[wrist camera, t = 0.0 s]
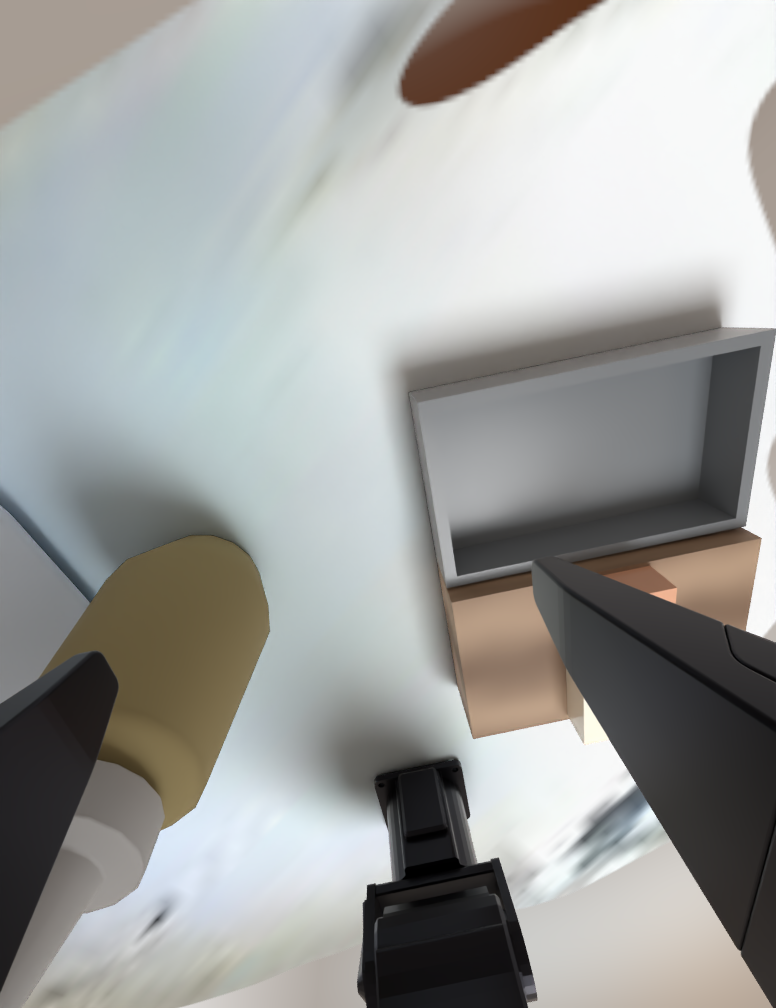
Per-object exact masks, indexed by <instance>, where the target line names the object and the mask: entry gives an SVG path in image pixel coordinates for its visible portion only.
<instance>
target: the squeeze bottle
mask: <svg viewBox="0 0 776 1008" xmlns="http://www.w3.org/2000/svg"><path fill="white" fill-rule="evenodd" d="M269 632H270V627H269V610H268V603H267V599H266V596H265V592H264V588H263V585H262V581H261V577H260V574H259V571H258V570H257V568H256V566H255V564H254V562H253V561H252V559H251V557H250V556H249V555H248V554H247V553H246V552H244V551H243V550H242V549H241V548H239V547H238V546H237V545H236V544H234V543H233V542H230V541H227V540H224V539H221V538H219V537H216V536H213V535H190V536H187V537H185V538H182V539H179V540H176V541H173V542H171V543H168V544H166V545H163V546H160V547H158V548H155V549H153V550H150V551H147V552H145V553H142V554H140V555H137V556H134V557H132V558H129V559H127V560H126V561H125V562H124V563H123V564H122V565H121V566H120V567H119V568H118V569H117V570H116V571H115V572H114V573H113V574H112V575H111V576H110V577H109V578H108V579H107V580H106V581H105V582H104V584H103V585H102V587H101V588H100V590H99V591H98V593H97V594H96V595H95V597H94V598H93V600H92V601H91V603H90V604H89V606H88V607H87V609H86V610H85V611H84V613H83V614H82V616H81V617H80V619H79V620H78V622H77V623H76V625H75V626H74V627H73V629H72V630H71V632H70V633H69V635H68V636H67V638H66V639H65V641H64V642H63V643H62V645H61V646H60V648H59V649H58V651H57V652H56V654H55V655H54V657H53V658H52V659H51V661H50V662H49V664H48V665H47V667H46V668H45V670H44V671H43V673H42V674H41V675H40V677H42V676H43V675H45V674H46V673H48V672H49V671H51V670H53V669H54V668H56V667H57V666H59V665H60V664H62V663H63V662H65V661H66V660H68V659H69V658H71V657H72V656H74V655H76V654H79V653H84V652H89V651H94V650H96V651H100V652H101V653H102V654H103V655H104V656H105V658H106V660H107V662H108V663H109V665H110V667H111V668H112V670H113V672H114V674H115V675H116V677H117V679H118V683H119V690H118V694H117V697H116V701H115V704H114V707H113V710H112V713H111V717H110V720H109V723H108V726H107V729H106V733H105V736H104V739H103V742H102V745H101V749H100V752H99V755H98V758H97V761H96V764H95V767H94V769H93V772H92V774H91V777H90V779H89V782H88V784H87V787H86V789H85V791H84V794H83V796H82V799H81V801H80V804H79V806H78V808H77V811H76V813H75V816H74V818H73V820H72V823H71V825H70V828H69V830H68V832H67V835H66V837H65V840H64V842H63V844H62V847H61V849H60V852H59V854H58V856H57V859H56V861H55V864H54V866H53V868H52V871H51V873H50V876H49V878H48V880H47V883H46V885H45V888H44V890H43V892H42V895H41V897H40V900H39V902H38V904H37V907H36V909H35V912H34V914H33V916H32V919H31V921H30V924H29V926H28V928H27V931H26V933H25V936H24V938H23V940H22V943H21V945H20V948H19V950H18V952H17V955H16V957H15V960H14V962H13V964H12V967H11V969H10V972H9V974H8V976H7V979H6V981H5V984H4V986H3V988H2V991H1V993H0V1008H22V1007H23V1005H24V1004H25V1002H26V1001H27V999H28V998H29V996H30V994H31V993H32V991H33V990H34V988H35V987H36V985H37V984H38V982H39V981H40V979H41V977H42V976H43V974H44V973H45V971H46V970H47V968H48V967H49V965H50V963H51V962H52V960H53V959H54V957H55V956H56V954H57V953H58V951H59V950H60V948H61V946H62V945H63V943H64V942H65V940H66V939H67V937H68V936H69V934H70V933H71V931H72V929H73V928H74V926H75V925H76V923H77V922H78V920H79V919H80V917H81V916H82V914H83V913H90V912H93V911H96V910H99V909H102V908H106V907H109V906H112V905H115V904H116V903H118V902H119V901H120V900H122V899H123V898H125V897H126V896H127V895H129V894H130V893H131V892H133V891H134V890H135V889H137V888H138V886H139V884H140V881H141V879H142V877H143V875H144V872H145V870H146V868H147V865H148V862H149V859H150V857H151V854H152V851H153V849H154V846H155V843H156V840H157V838H158V835H159V832H160V830H163V829H165V828H167V827H169V826H171V825H173V824H174V823H176V822H177V821H178V820H180V819H181V818H182V817H184V816H185V815H186V814H187V813H189V812H190V811H191V810H193V809H194V808H195V807H196V805H197V803H198V801H199V799H200V797H201V795H202V793H203V791H204V788H205V786H206V784H207V782H208V779H209V777H210V775H211V772H212V770H213V767H214V765H215V762H216V760H217V758H218V755H219V753H220V750H221V748H222V746H223V743H224V741H225V738H226V736H227V733H228V731H229V729H230V726H231V724H232V721H233V719H234V717H235V714H236V712H237V709H238V707H239V704H240V702H241V700H242V697H243V695H244V692H245V690H246V688H247V685H248V683H249V680H250V678H251V675H252V673H253V671H254V668H255V666H256V663H257V661H258V659H259V656H260V654H261V651H262V649H263V646H264V644H265V642H266V639H267V637H268V634H269ZM40 677H39V678H40ZM39 678H38V679H39Z"/></svg>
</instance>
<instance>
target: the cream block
mask: <svg viewBox="0 0 776 1008" xmlns="http://www.w3.org/2000/svg"><path fill="white" fill-rule="evenodd" d="M566 680H567V711H568V717H569V718H570V720H571V722H572V724H573V726H574V728H575V729H576V731H577V733H578V735H579V737H580V738H581V740H582V742H583V744H584V745H588V744H593V743H598V742H602V741H607V740H609V738H608V737H607V735H606V733H605V732H604V730H603V728H602V727H601V725H600V724H599V722H598V720H597V719H596V717H595V715H594V714H593V712H592V710H591V709H590V707H589V706H588V704H587V702H586V701H585V699H584V697H583V696H582V694H581V693H580V691H579V689H578V688H577V686H576V684H575V683H574V681H573V679H572V678H571V676H570V674H569V673H568V671H567V669H566Z"/></svg>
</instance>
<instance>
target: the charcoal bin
mask: <svg viewBox="0 0 776 1008" xmlns="http://www.w3.org/2000/svg"><path fill="white" fill-rule="evenodd" d="M775 335H776V329H774V328H730V327H722V328H717V329H712V330H707V331H703V332H698V333H693V334H688V335H683V336H678V337H674V338H669V339H664V340H659V341H654V342H649V343H645V344H640V345H635V346H630V347H625V348H620V349H616V350H611V351H606V352H601V353H596V354H591V355H586V356H582V357H577V358H572V359H567V360H562V361H557V362H553V363H548V364H543V365H538V366H533V367H528V368H524V369H519V370H514V371H509V372H504V373H499V374H495V375H490V376H485V377H480V378H475V379H470V380H466V381H461V382H456V383H451V384H446V385H441V386H437V387H432V388H427V389H422V390H417V391H412V392H409V398H410V404H411V410H412V416H413V422H414V428H415V434H416V440H417V446H418V452H419V458H420V464H421V470H422V476H423V482H424V488H425V494H426V500H427V506H428V512H429V518H430V524H431V530H432V536H433V542H434V548H435V554H436V560H437V562H438V565H439V568H440V570H441V573H442V576H443V579H444V581H445V584H446V587H447V588H451V587H456V586H461V585H465V584H470V583H475V582H480V581H485V580H489V579H494V578H499V577H504V576H509V575H514V574H518V573H523V572H528V571H532V569H531V565H532V561H533V560H534V559H537V558H542V557H547V556H554V557H557V558H560V559H562V560H565V561H567V562H570V563H571V562H576V561H581V560H586V559H590V558H595V557H600V556H605V555H610V554H615V553H619V552H624V551H629V550H634V549H639V548H643V547H648V546H653V545H658V544H663V543H667V542H672V541H677V540H682V539H687V538H691V537H696V536H701V535H706V534H711V533H716V532H720V531H725V530H730V529H735V528H740V527H744V526H746V521H747V515H748V508H749V502H750V496H751V489H752V483H753V476H754V470H755V463H756V457H757V451H758V444H759V438H760V431H761V425H762V419H763V412H764V406H765V399H766V393H767V387H768V380H769V374H770V367H771V361H772V355H773V348H774V342H775Z"/></svg>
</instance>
